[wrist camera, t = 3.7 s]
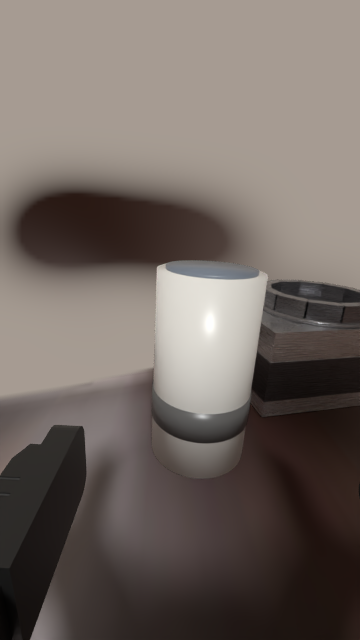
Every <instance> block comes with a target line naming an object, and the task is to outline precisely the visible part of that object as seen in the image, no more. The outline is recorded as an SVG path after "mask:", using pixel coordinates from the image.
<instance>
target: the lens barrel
mask: <svg viewBox="0 0 360 640" xmlns="http://www.w3.org/2000/svg"><path fill="white" fill-rule="evenodd" d="M267 279H268V275H267V274H266V273H264V272H262V271H259V270H258V269H255V268H253V267H249V266H245V265H240V264H234V263H226V262H216V261H196V260H193V261H191V260H189V261H174V262H169V263H167V264H162V265H159V266H158V267H157V287H156V318H155V349H154V379H153V383H152V442H151V445H152V450H153V453H154V455H155V457H156V458H157V460H158V461H159V462H160V463H161V464H162V465H163V466H164V467H166V468H167V469H169V470H170V471H172V472H174V473H176V474H178V475H181V476H184V477H189V478H195V479H208V478H215V477H219V476H221V475H224V474H226V473H228V472H229V471H231V470H232V469H233V468H234V467H235V466H236V465H237V464H238V462H239V461H240V458H241V455H242V448H243V442H244V435H245V428H246V425H247V421H248V415H249V408H250V401H251V388H252V381H253V374H254V367H255V360H256V354H257V347H258V340H259V333H260V327H261V320H262V313H263V306H264V300H265V293H266V286H267Z"/></svg>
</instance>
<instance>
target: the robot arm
mask: <svg viewBox="0 0 360 640" xmlns="http://www.w3.org/2000/svg"><path fill="white" fill-rule="evenodd" d="M85 481H86V455H85V437H84V429H83V427H82V426H67V425H54V426H53V427H52V428H51V429H50V431H49V432H48V434H47V436H46V437H45V439H44V440H43V442H42V444H30V445H28V446H27V447H26V448H25V449H23V450H22V451H21V452H19V453H18V454H17V455H16V456H14V457H13V458H12V459H11V460H10V462H9V463H8V465H7V466H6V468H5V469H4V470H3V472H2V473H1V475H0V640H30V638H31V635H32V632H33V630H34V627H35V624H36V621H37V619H38V616H39V613H40V610H41V608H42V605H43V602H44V599H45V597H46V594H47V591H48V588H49V586H50V583H51V580H52V577H53V574H54V572H55V569H56V566H57V563H58V561H59V558H60V555H61V552H62V550H63V547H64V544H65V541H66V539H67V536H68V533H69V530H70V528H71V525H72V522H73V519H74V516H75V514H76V511H77V508H78V505H79V503H80V500H81V497H82V494H83V491H84V486H85ZM359 497H360V484H359Z"/></svg>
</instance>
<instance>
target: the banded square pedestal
mask: <svg viewBox="0 0 360 640" xmlns="http://www.w3.org/2000/svg"><path fill="white" fill-rule="evenodd" d="M250 403H251V404H252V406H253V407H254V408H255V409H256V411H257V412H258V413H259V414H260V416H261V417H267V416H276V415H284V414H293V413H301V412H310V411H318V410H327V409H335V408H344V407H352V406H360V290H357V289H355V288H350V287H346V286H340V285H335V284H329V283H323V282H314V281H303V280H271V281H267V286H266V293H265V300H264V306H263V313H262V320H261V327H260V333H259V340H258V347H257V354H256V360H255V367H254V374H253V381H252V388H251V401H250Z"/></svg>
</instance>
